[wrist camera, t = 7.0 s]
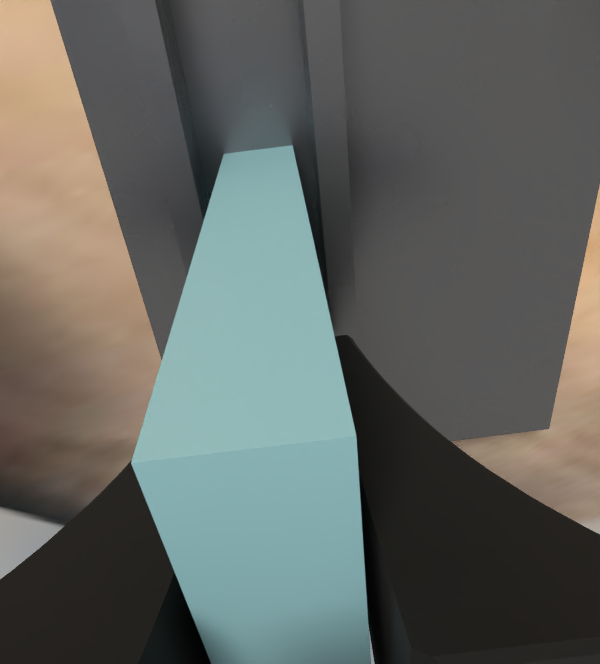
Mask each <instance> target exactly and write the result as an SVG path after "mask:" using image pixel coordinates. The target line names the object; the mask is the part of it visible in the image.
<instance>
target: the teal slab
mask: <svg viewBox="0 0 600 664" xmlns="http://www.w3.org/2000/svg"><path fill="white" fill-rule="evenodd" d="M131 464H132V467H133V469H134V472H135V474H136V477H137V479H138V482H139V484H140V487H141V489H142V492H143V494H144V497H145V499H146V502H147V504H148V507H149V509H150V512H151V514H152V517H153V519H154V522H155V524H156V527H157V529H158V532H159V534H160V537H161V539H162V542H163V544H164V547H165V549H166V552H167V554H168V557H169V559H170V562H171V564H172V567H173V569H174V572H175V574H176V577H177V579H178V582H179V584H180V587H181V589H182V592H183V594H184V597H185V599H186V602H187V604H188V607H189V609H190V612H191V614H192V617H193V619H194V622H195V624H196V627H197V629H198V632H199V634H200V637H201V639H202V642H203V644H204V647H205V649H206V652H207V654H208V657H209V659H210V662H211V664H371V658H370V643H369V627H368V611H367V595H366V580H365V564H364V548H363V532H362V516H361V501H360V485H359V469H358V453H357V438H356V432H355V427H354V423H353V418H352V414H351V409H350V405H349V400H348V396H347V391H346V386H345V382H344V377H343V373H342V368H341V364H340V359H339V355H338V350H337V345H336V341H335V336H334V332H333V327H332V323H331V318H330V314H329V309H328V305H327V300H326V295H325V291H324V286H323V282H322V277H321V273H320V268H319V264H318V259H317V254H316V250H315V245H314V241H313V236H312V232H311V227H310V223H309V218H308V213H307V209H306V204H305V200H304V195H303V191H302V186H301V182H300V177H299V173H298V168H297V163H296V159H295V154H294V150H293V145H291V146H283V147H275V148H267V149H259V150H251V151H243V152H234V153H226V154H224V155H223V158H222V162H221V165H220V168H219V172H218V175H217V178H216V182H215V185H214V188H213V192H212V195H211V198H210V202H209V205H208V208H207V212H206V215H205V218H204V222H203V225H202V228H201V232H200V235H199V238H198V242H197V245H196V248H195V252H194V255H193V258H192V262H191V265H190V268H189V272H188V275H187V278H186V282H185V285H184V288H183V292H182V295H181V298H180V302H179V305H178V308H177V312H176V315H175V318H174V322H173V325H172V328H171V332H170V335H169V338H168V342H167V345H166V348H165V352H164V355H163V358H162V362H161V365H160V368H159V372H158V375H157V378H156V382H155V385H154V388H153V392H152V395H151V398H150V402H149V405H148V408H147V412H146V415H145V418H144V422H143V425H142V428H141V432H140V435H139V438H138V442H137V445H136V448H135V452H134V455H133V458H132V462H131Z"/></svg>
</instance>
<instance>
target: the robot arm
mask: <svg viewBox="0 0 600 664" xmlns="http://www.w3.org/2000/svg"><path fill="white" fill-rule="evenodd" d="M335 341H336V345H337V350H338V355H339V359H340V364H341V368H342V373H343V377H344V382H345V386H346V391H347V396H348V400H349V405H350V409H351V414H352V418H353V423H354V427H355V432H356V438H357V453H358V469H359V485H360V501H361V516H362V532H363V548H364V564H365V580H366V595H367V611H368V624H369V630H370V637H371V643H372V649H373V655H374V662H375V664H600V534H598V533H596V532H594V531H592V530H590V529H588V528H586V527H584V526H582V525H580V524H579V523H577V522H575V521H573V520H571V519H569V518H568V517H566V516H564V515H562V514H560V513H559V512H557V511H555V510H553V509H551V508H549V507H548V506H546V505H544V504H542V503H541V502H539V501H537V500H536V499H534V498H532V497H530V496H529V495H527V494H526V493H524V492H523V491H521V490H519V489H518V488H516V487H515V486H513V485H512V484H510V483H508V482H507V481H505V480H504V479H502V478H501V477H499V476H497V475H496V474H494V473H493V472H491V471H490V470H488V469H487V468H485V467H484V466H483V465H481V464H480V463H478V462H477V461H476V460H474V459H473V458H471V457H470V456H469V455H467V454H466V453H465V452H463V451H462V450H461V449H459V448H458V447H457V446H456V445H454V444H453V443H452V442H451V441H449V440H448V439H447V438H446V437H444V436H443V435H442V434H441V433H440V432H438V431H437V430H436V429H435V428H434V427H433V426H431V425H430V424H429V423H428V422H427V421H426V420H425V419H424V418H423V417H421V416H420V415H419V414H418V413H417V412H416V411H415V410H414V409H413V408H412V407H411V406H410V405H409V404H408V403H407V402H406V401H405V400H404V399H403V398H402V397H401V396H400V395H399V394H398V393H397V392H396V391H395V390H394V389H393V388H392V387H391V386H390V385H389V384H388V383H387V382H386V380H385V379H384V378H383V377H382V376H381V375H380V374H379V373H378V371H377V370H376V369H375V368H374V367H373V365H372V364H371V363H370V362H369V361H368V359H367V358H366V357H365V356H364V354H363V353H362V352H361V350H360V349H359V348H358V346H357V345H356V343H355V342H354V340H353V339H352V338H351V337H350V336H348V335H341V336H335ZM131 462H132V460H131V461H130V463H129V464H128V465H127V466H126V467H125V468H124V469H123V470H122V472H121V473H120V474H119V475H118V476H117V477H116V478H115V479H114V480H113V481H112V482H111V483H110V484H109V485H108V486H107V487H106V488H105V489H104V490H103V491H102V492H101V493H100V494H99V495H98V496H97V497H96V498H95V499H94V500H93V501H92V502H91V503H90V504H89V505H88V506H87V507H86V508H84V509H83V510H82V511H81V512H80V513H79V514H78V515H77V516H76V517H74V518H73V519H72V520H71V521H70V522H69V523H68V524H67V525H65V526H64V527H63V528H62V529H61V530H60V531H59V532H58V533H57V534H55V535H54V536H53V537H52V538H51V539H50V540H49V541H48V542H47V543H45V544H44V545H43V546H42V547H41V548H40V549H38V550H37V551H36V552H35V553H33V554H32V555H31V556H30V557H28V558H27V559H26V560H25V561H23V562H22V563H21V564H20V565H18V566H17V567H16V568H15V569H14V570H12V571H11V572H10V573H8V574H7V575H6V576H4V577H3V578H2V579H0V664H211V662H210V659H209V657H208V654H207V652H206V649H205V647H204V644H203V642H202V639H201V637H200V634H199V632H198V629H197V627H196V624H195V622H194V619H193V617H192V614H191V612H190V609H189V607H188V604H187V602H186V599H185V597H184V594H183V592H182V589H181V587H180V584H179V582H178V579H177V577H176V574H175V572H174V569H173V567H172V564H171V562H170V559H169V557H168V554H167V552H166V549H165V547H164V544H163V542H162V539H161V537H160V534H159V532H158V529H157V527H156V524H155V522H154V519H153V517H152V514H151V512H150V509H149V507H148V504H147V502H146V499H145V497H144V494H143V492H142V489H141V487H140V484H139V482H138V479H137V477H136V474H135V472H134V469H133V467H132V464H131Z"/></svg>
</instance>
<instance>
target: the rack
mask: <svg viewBox="0 0 600 664" xmlns="http://www.w3.org/2000/svg"><path fill="white" fill-rule="evenodd" d="M51 3H52V7H53V10H54V13H55V16H56V19H57V23H58V26H59V29H60V32H61V36H62V39H63V42H64V45H65V49H66V52H67V55H68V58H69V62H70V65H71V68H72V71H73V74H74V78H75V81H76V84H77V87H78V91H79V94H80V97H81V100H82V104H83V107H84V110H85V113H86V116H87V120H88V123H89V126H90V129H91V133H92V136H93V139H94V142H95V146H96V149H97V152H98V155H99V158H100V162H101V165H102V168H103V171H104V175H105V178H106V181H107V184H108V188H109V191H110V194H111V197H112V200H113V204H114V207H115V210H116V213H117V217H118V220H119V223H120V226H121V230H122V233H123V236H124V239H125V243H126V246H127V249H128V252H129V255H130V259H131V262H132V265H133V268H134V272H135V275H136V278H137V281H138V285H139V288H140V291H141V294H142V297H143V301H144V304H145V307H146V310H147V314H148V317H149V320H150V323H151V327H152V330H153V333H154V336H155V339H156V343H157V346H158V349H159V352H160V356H161V359H162V358H163V355H164V352H165V348H166V345H167V342H168V338H169V335H170V332H171V328H172V325H173V322H174V318H175V315H176V312H177V308H178V305H179V302H180V298H181V295H182V292H183V288H184V285H185V282H186V278H187V275H188V272H189V268H190V265H191V262H192V258H193V255H194V252H195V248H196V245H197V242H198V238H199V235H200V232H201V228H202V225H203V222H204V218H205V215H206V212H207V208H208V205H209V202H210V198H211V195H212V192H213V188H214V185H215V182H216V178H217V175H218V172H219V168H220V165H221V162H222V158H223V155H224V154H226V153H234V152H243V151H251V150H259V149H267V148H275V147H283V146H291V145H293V150H294V154H295V159H296V163H297V168H298V173H299V177H300V182H301V186H302V191H303V195H304V200H305V204H306V209H307V213H308V218H309V223H310V227H311V232H312V236H313V241H314V245H315V250H316V254H317V259H318V264H319V268H320V273H321V277H322V282H323V286H324V291H325V295H326V300H327V305H328V309H329V314H330V318H331V323H332V327H333V332H334V336H341V335H348V336H350V337H351V338H352V339H353V340H354V342H355V343H356V345H357V346H358V348H359V349H360V350H361V352H362V353H363V354H364V356H365V357H366V358H367V359H368V361H369V362H370V363H371V364H372V365H373V367H374V368H375V369H376V370H377V371H378V373H379V374H380V375H381V376H382V377H383V378H384V379H385V380H386V382H387V383H388V384H389V385H390V386H391V387H392V388H393V389H394V390H395V391H396V392H397V393H398V394H399V395H400V396H401V397H402V398H403V399H404V400H405V401H406V402H407V403H408V404H409V405H410V406H411V407H412V408H413V409H414V410H415V411H416V412H417V413H418V414H419V415H420V416H421V417H423V418H424V419H425V420H426V421H427V422H428V423H429V424H430V425H431V426H433V427H434V428H435V429H436V430H437V431H438V432H440V433H441V434H442V435H443V436H444V437H446V438H447V439H448V440H449V441H455V440H463V439H471V438H479V437H487V436H495V435H503V434H512V433H520V432H528V431H536V430H544V429H549V426H550V421H551V417H552V412H553V407H554V402H555V397H556V392H557V388H558V383H559V378H560V373H561V368H562V363H563V359H564V354H565V349H566V344H567V339H568V334H569V330H570V325H571V320H572V315H573V310H574V305H575V301H576V296H577V291H578V286H579V281H580V276H581V272H582V267H583V262H584V257H585V252H586V247H587V243H588V238H589V233H590V228H591V223H592V218H593V214H594V209H595V204H596V199H597V194H598V189H599V184H600V0H51Z"/></svg>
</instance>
